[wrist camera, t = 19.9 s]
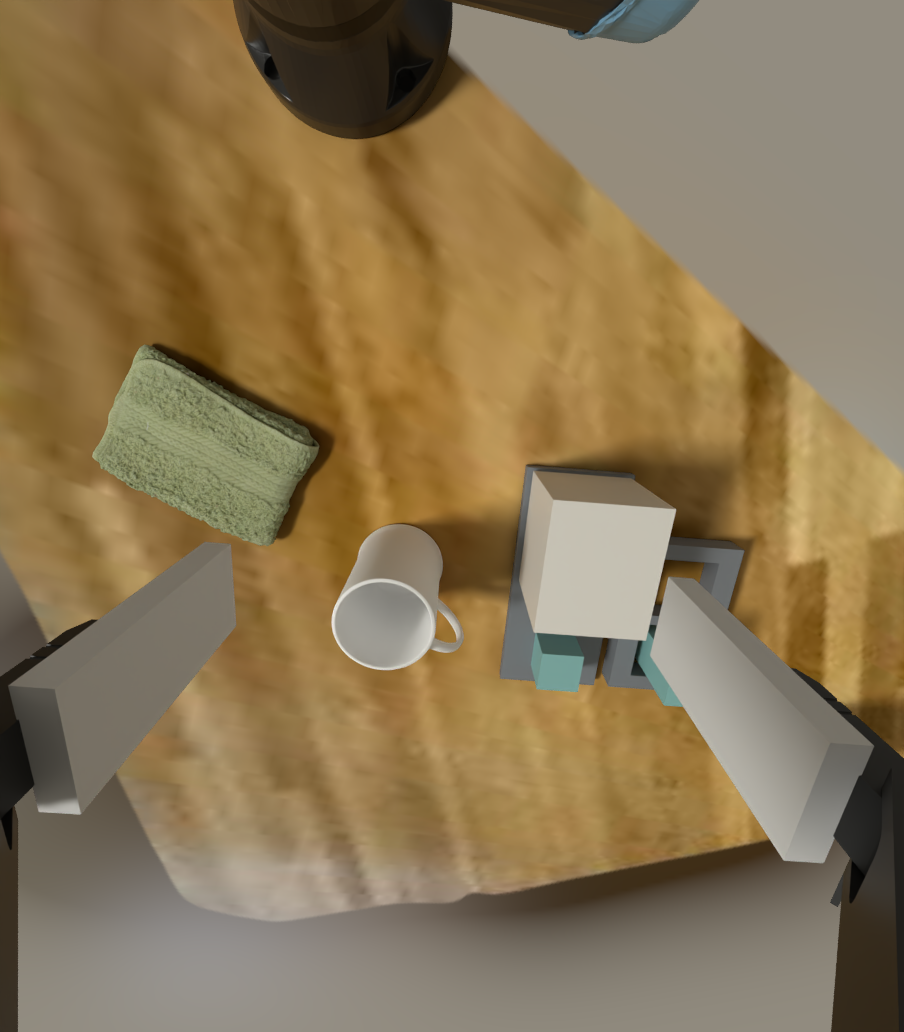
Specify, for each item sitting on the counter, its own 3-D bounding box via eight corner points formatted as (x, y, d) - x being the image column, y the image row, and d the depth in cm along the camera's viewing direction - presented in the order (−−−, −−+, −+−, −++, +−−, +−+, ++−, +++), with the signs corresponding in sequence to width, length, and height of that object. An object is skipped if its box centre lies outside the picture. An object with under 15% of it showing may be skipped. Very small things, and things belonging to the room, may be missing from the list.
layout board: (526, 464, 46) (534, 477, 41) (631, 473, 46) (652, 486, 41) (499, 672, 53) (503, 703, 48) (591, 679, 53) (604, 711, 48)
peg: (640, 621, 51) (673, 667, 43) (678, 624, 51) (718, 671, 43) (633, 654, 52) (664, 705, 44) (670, 657, 52) (707, 708, 44)
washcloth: (147, 337, 43) (123, 335, 40) (329, 435, 45) (319, 441, 42) (103, 464, 46) (78, 472, 43) (274, 549, 49) (262, 562, 46)
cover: (533, 470, 44) (553, 499, 35) (631, 478, 44) (676, 509, 35) (518, 580, 48) (533, 632, 39) (609, 586, 48) (645, 640, 39)
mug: (484, 579, 49) (493, 646, 38) (430, 634, 51) (422, 713, 40) (394, 506, 47) (374, 553, 36) (341, 567, 49) (306, 630, 38)
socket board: (630, 533, 48) (638, 542, 45) (730, 541, 48) (744, 550, 45) (601, 672, 53) (608, 686, 50) (693, 678, 53) (703, 693, 50)
